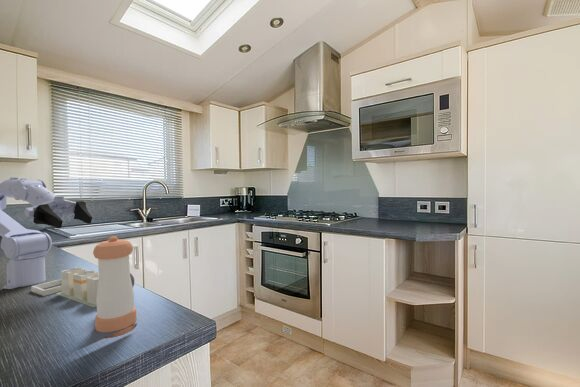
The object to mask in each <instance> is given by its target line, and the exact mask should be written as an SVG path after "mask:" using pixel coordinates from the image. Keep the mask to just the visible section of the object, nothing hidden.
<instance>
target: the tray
mask: <svg viewBox="0 0 580 387" xmlns="http://www.w3.org/2000/svg"><path fill="white" fill-rule="evenodd" d="M30 287H31V292H32V293H34V294H37V295H39V296H42V297H46V296H50V295H52V294H56V293H60V292H62V282H61V278H60V279H55V280H52V281H48V282H44V283H43V282H42V283H38V284H34V285H30Z"/></svg>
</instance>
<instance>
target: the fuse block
mask: <svg viewBox="0 0 580 387" xmlns="http://www.w3.org/2000/svg"><path fill="white" fill-rule="evenodd" d="M55 295H58V296H59V297H63V298H67V299H69V300H72V301H74V302H78V303H80V304H83V305H86V306H88V307H91V308H97V305H95V304H92V303H89V302H87V291H85V299H84V300H81V299H78V298H75V297H74V287H72V295H70V296H69V295H66V294H63V293H62V291H61V292H57V293H55Z"/></svg>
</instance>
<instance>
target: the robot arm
mask: <svg viewBox="0 0 580 387" xmlns="http://www.w3.org/2000/svg"><path fill="white" fill-rule="evenodd" d="M45 183H46V182H44V180H41V179H28V178H27V177H25V178H24V177H22V178H20V179H19V177H18V176H17V177H16V176H15V177H13V176H11V177H9V178H8V179H5V180H3V181H0V237H2V238H1V241H0V248H1V250H2V251H3V254H4V255H5V256H6V257H7V258H8V259H10V260H9V261H8V262H7V264H6V283H7V284H6V285H4V286H3V289H6V290H11V289H16V288H19V287H27V286H29V287H30V286H35V285H39V284H42V283H43V282H44V283H45V281H46V258H45V256H46V255H48V252H49V251H50V250H51V249H52V246H53V241H52V237H51V236H50V235H49V234H48V233H47V232H42V231H40V230H37V229H29V228H25V227H24V226H23V225H21V223H20V222H18V221H16V220H15V219H14V218H12V216H10V215H8V214H7V213H6V212H5V211H3V210H5V209H6V208H7V200H8V199H7V198H14V200H16V201H22V202H24V201H25V202H27V203H29V204H30V205H31V207H25V210H24V216H25V217H27V218H33V221H32V222H33V223H34V224H35V225H45V226H46V225H47V226H50V227H53V228H57V229H60V228H62V227H63V226H62V225H63V222H64V220H63V219H62V218H64V217H66V216H68V215H72V214H74V216H73V220H79V221H80V222H81V221H82V222H84V223H86V224H92V221H93V216H92V215H91V213H90V212H89V210H88V205H87V203H86V202H85V201H84V200H79V201H72V200H68V199H64V198H65V197H64V195H57V194H55V193H54V192H52V191H51V190H49V188H48V189H47V185H46V184H45Z"/></svg>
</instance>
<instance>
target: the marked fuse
mask: <svg viewBox="0 0 580 387" xmlns="http://www.w3.org/2000/svg"><path fill="white" fill-rule="evenodd" d="M95 275H99V271H95V270H91V269H88V270H85V271H84V272H80V273H76V274H73V285H74V297H75V298H78V299H81V300H84V299H85V291H87V285H86V278H87V277H91V276H95Z"/></svg>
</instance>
